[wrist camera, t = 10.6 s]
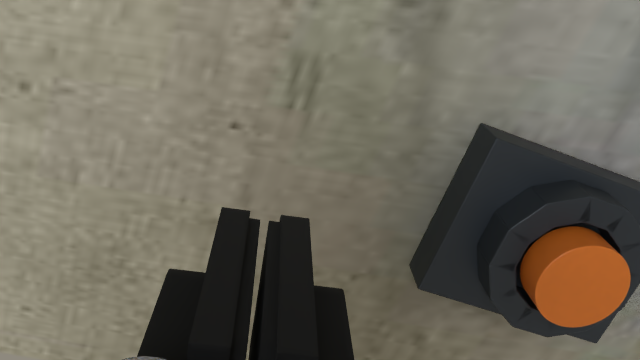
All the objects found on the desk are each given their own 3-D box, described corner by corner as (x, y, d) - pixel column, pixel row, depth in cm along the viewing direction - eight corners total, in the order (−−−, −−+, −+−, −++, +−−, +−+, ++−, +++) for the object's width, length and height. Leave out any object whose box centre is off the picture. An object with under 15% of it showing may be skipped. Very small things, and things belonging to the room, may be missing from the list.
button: (626, 241, 25) (650, 262, 24) (579, 313, 27) (598, 338, 25) (547, 213, 24) (566, 233, 23) (503, 289, 26) (517, 313, 24)
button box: (660, 189, 28) (715, 227, 25) (576, 317, 31) (615, 369, 27) (480, 122, 26) (511, 152, 23) (408, 264, 29) (426, 312, 26)
